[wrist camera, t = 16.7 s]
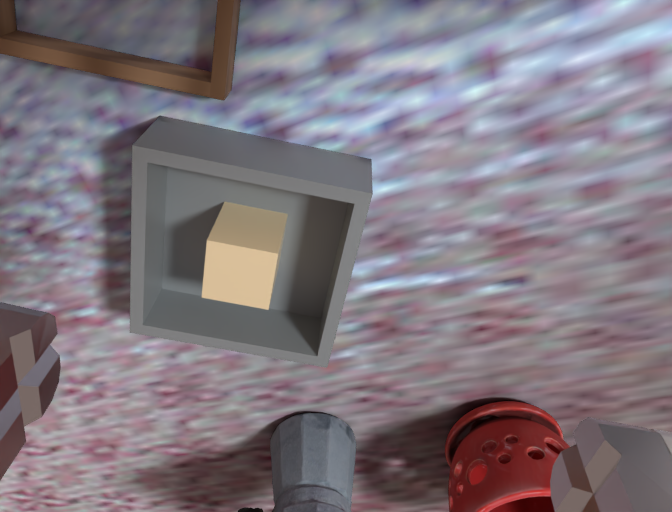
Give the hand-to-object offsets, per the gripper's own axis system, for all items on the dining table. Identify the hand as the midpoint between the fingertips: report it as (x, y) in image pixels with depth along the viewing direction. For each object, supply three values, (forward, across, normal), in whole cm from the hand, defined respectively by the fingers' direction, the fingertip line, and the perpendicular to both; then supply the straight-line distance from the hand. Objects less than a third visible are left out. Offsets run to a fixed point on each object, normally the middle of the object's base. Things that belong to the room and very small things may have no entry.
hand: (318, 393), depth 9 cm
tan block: (+33, +5, +18) cm, 38 cm away
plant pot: (+34, -22, +36) cm, 55 cm away
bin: (+34, +5, +18) cm, 39 cm away
